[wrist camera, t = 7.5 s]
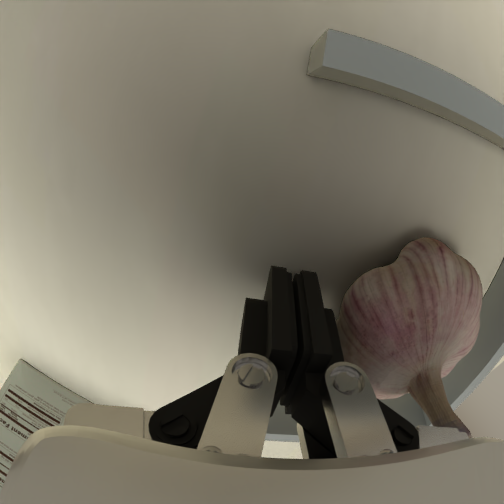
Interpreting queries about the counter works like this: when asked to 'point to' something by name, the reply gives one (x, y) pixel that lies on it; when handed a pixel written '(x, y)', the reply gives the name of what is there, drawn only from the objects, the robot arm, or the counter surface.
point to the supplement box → (29, 410)
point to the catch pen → (450, 108)
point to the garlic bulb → (413, 325)
